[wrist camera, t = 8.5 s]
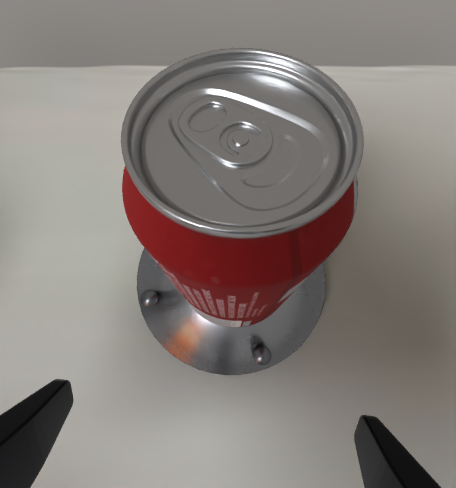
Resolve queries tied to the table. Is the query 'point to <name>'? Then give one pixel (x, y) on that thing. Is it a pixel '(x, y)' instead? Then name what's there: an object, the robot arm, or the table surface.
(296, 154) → the soda can
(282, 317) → the flange
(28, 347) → the table surface
